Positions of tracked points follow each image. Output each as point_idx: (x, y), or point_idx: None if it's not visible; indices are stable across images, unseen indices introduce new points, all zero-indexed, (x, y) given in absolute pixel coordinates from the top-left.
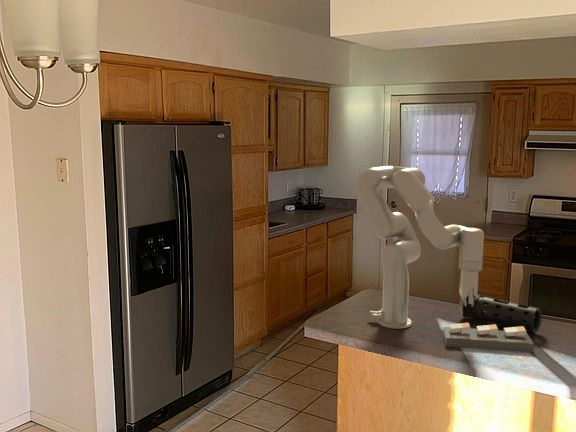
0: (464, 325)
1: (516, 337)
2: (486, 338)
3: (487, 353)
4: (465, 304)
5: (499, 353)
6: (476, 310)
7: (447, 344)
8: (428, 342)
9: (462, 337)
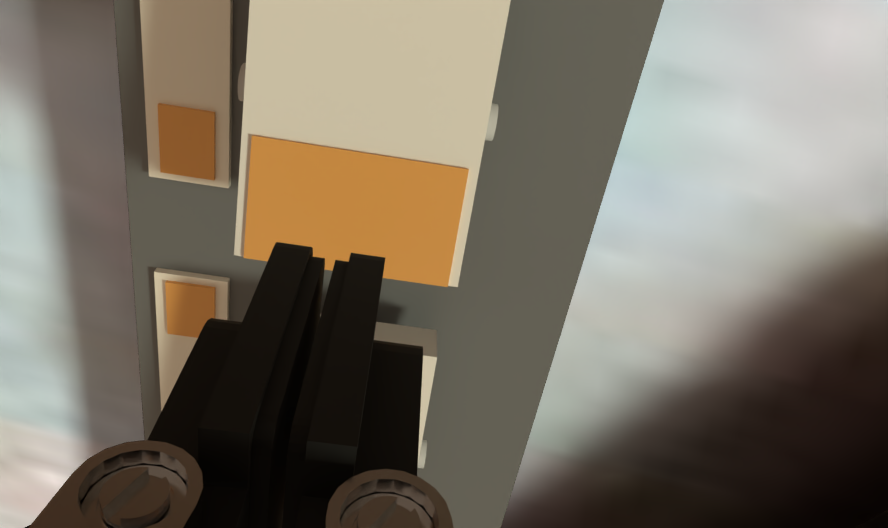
0: (331, 187)
1: None
2: None
3: (52, 255)
4: (47, 517)
5: (91, 360)
6: None
7: None
8: None
9: (156, 57)
